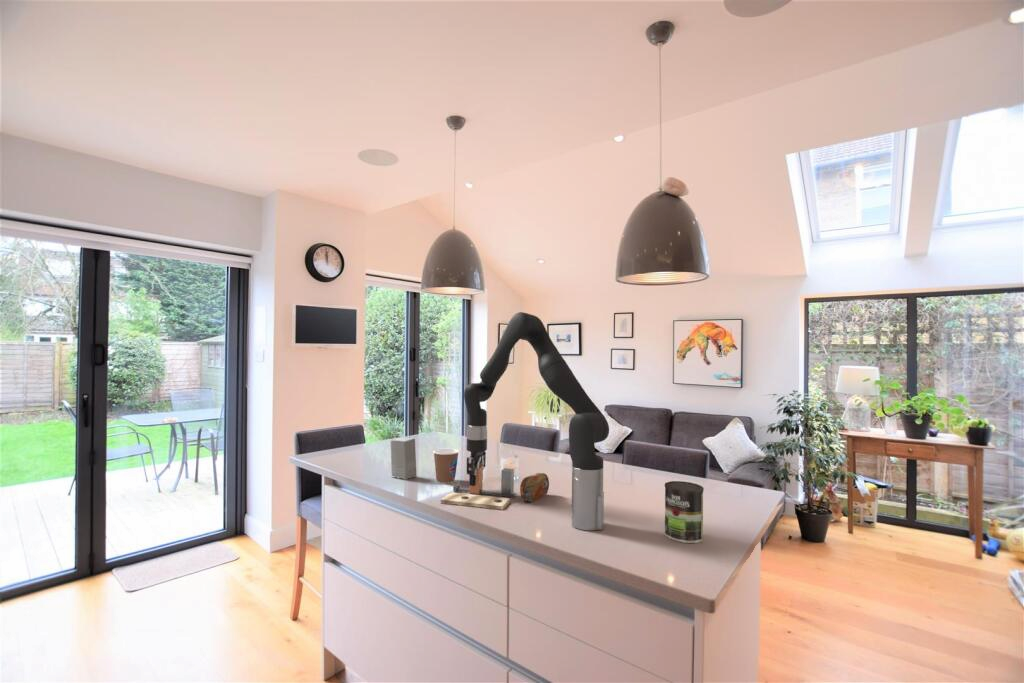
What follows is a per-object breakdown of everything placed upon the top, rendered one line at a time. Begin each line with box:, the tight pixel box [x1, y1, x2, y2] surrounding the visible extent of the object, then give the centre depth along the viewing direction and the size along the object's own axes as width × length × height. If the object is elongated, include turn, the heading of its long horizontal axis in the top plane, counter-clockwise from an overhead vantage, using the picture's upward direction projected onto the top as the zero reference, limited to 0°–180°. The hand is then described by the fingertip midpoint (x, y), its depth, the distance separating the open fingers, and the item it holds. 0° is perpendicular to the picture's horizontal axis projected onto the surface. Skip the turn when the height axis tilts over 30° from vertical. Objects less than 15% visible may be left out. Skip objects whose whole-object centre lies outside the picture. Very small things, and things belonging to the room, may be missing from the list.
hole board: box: [440, 492, 511, 511], centre depth 158 cm, size 22×9×1 cm, turn 74°
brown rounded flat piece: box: [519, 472, 550, 503], centre depth 163 cm, size 15×3×8 cm, turn 143°
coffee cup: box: [433, 448, 460, 484], centre depth 185 cm, size 10×10×12 cm
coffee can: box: [664, 480, 705, 544], centre depth 130 cm, size 10×10×14 cm
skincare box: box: [390, 437, 417, 480], centre depth 190 cm, size 8×7×16 cm
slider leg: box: [469, 466, 484, 495], centre depth 169 cm, size 4×4×9 cm
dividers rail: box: [452, 467, 517, 499], centre depth 168 cm, size 23×4×9 cm, turn 74°
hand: (476, 482), depth 169 cm, fingers open, 7 cm apart
